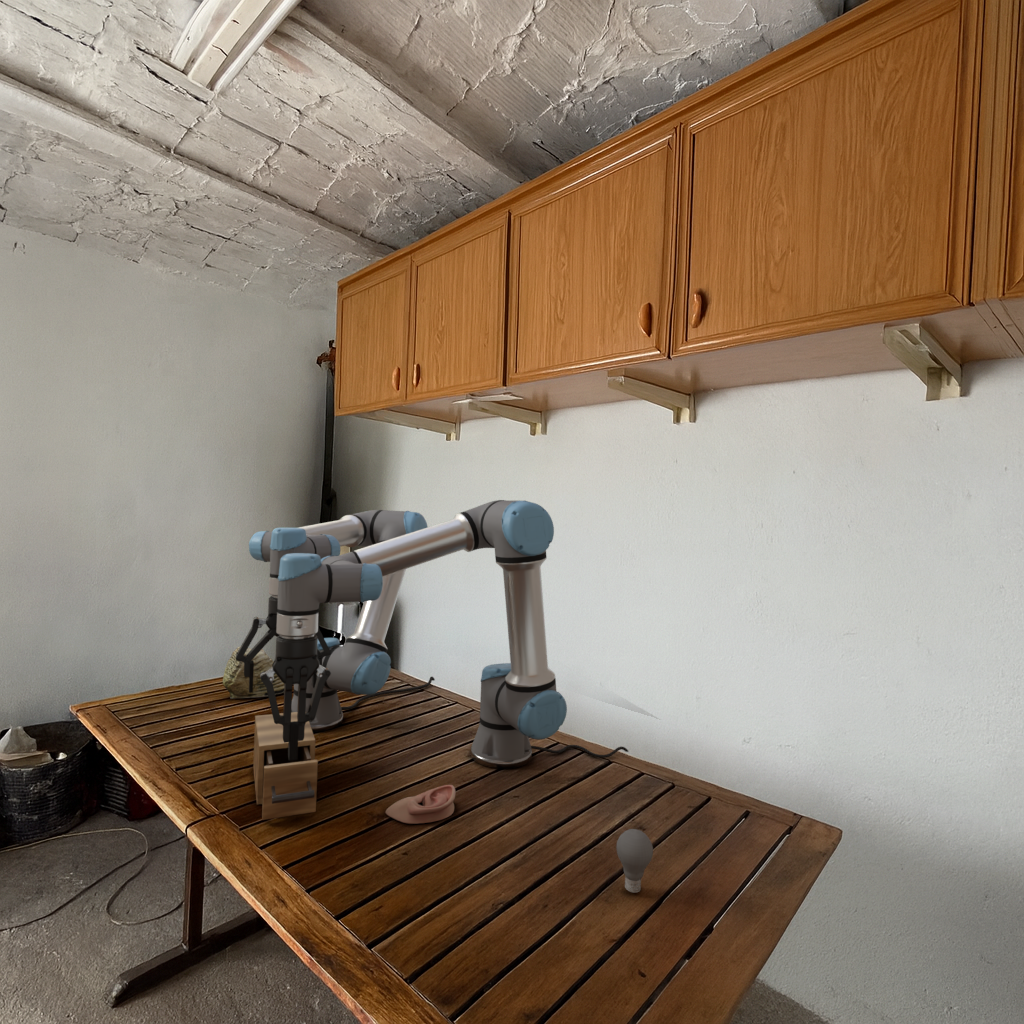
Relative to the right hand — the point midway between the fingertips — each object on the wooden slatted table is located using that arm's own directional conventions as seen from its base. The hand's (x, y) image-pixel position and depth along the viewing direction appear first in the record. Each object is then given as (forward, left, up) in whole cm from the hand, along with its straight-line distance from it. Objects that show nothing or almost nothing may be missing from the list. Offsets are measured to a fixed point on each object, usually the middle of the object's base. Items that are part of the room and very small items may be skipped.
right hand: (292, 757), depth 121 cm
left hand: (+1, -26, +6) cm, 26 cm away
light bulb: (-53, +37, -13) cm, 66 cm away
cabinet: (+1, -21, -13) cm, 25 cm away
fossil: (+7, -86, -13) cm, 87 cm away
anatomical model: (-25, +1, -13) cm, 29 cm away
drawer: (0, -8, -12) cm, 15 cm away
